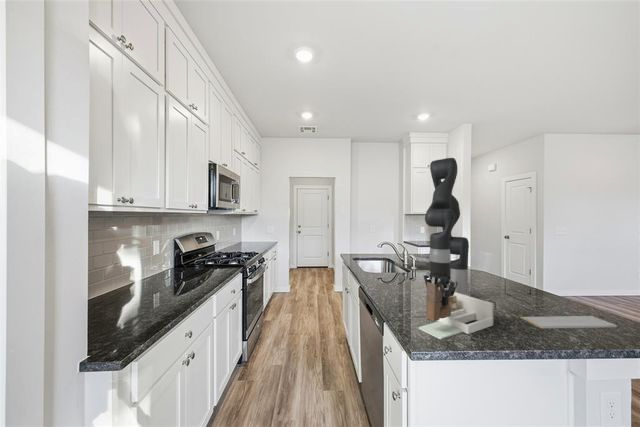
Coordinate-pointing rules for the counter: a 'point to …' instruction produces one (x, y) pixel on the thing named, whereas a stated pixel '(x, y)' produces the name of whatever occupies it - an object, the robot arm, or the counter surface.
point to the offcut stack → (453, 303)
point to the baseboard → (569, 322)
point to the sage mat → (440, 330)
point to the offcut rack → (470, 314)
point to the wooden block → (436, 303)
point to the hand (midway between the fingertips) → (439, 304)
